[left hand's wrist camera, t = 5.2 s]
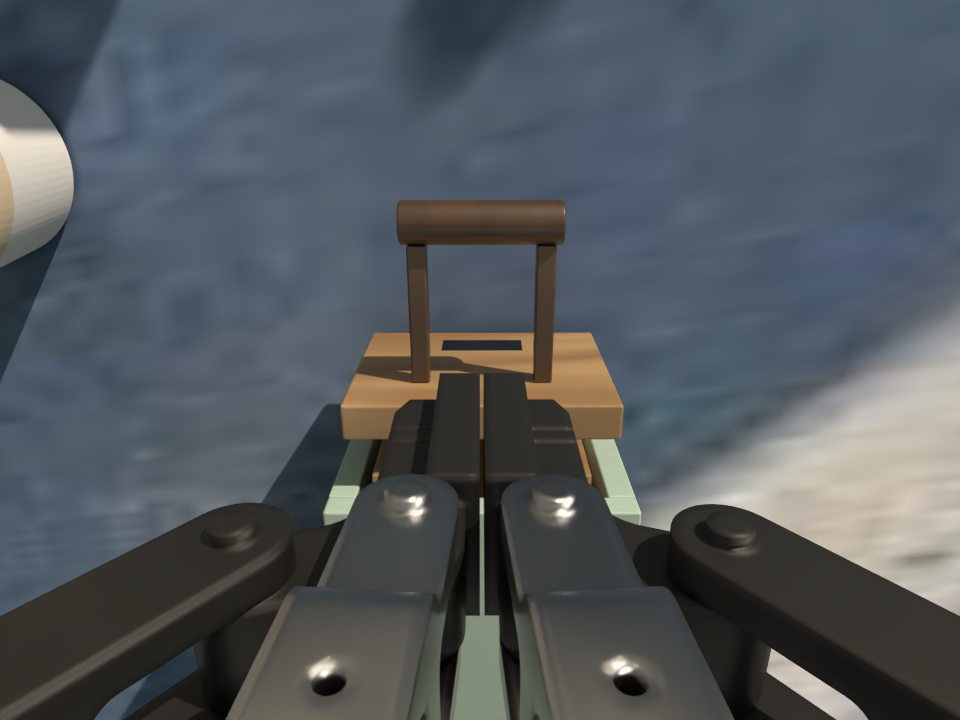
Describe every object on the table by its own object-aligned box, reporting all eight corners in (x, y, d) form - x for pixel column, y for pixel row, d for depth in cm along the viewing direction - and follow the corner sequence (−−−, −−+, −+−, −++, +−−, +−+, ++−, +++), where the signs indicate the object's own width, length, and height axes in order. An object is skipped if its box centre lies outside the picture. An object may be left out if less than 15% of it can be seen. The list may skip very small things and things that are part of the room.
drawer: (363, 181, 25) (321, 212, 19) (600, 180, 25) (640, 211, 18) (397, 708, 34) (378, 846, 28) (568, 708, 34) (587, 847, 28)
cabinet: (366, 395, 29) (321, 512, 21) (598, 395, 29) (642, 512, 21) (391, 753, 37) (366, 938, 29) (574, 753, 37) (599, 939, 29)
